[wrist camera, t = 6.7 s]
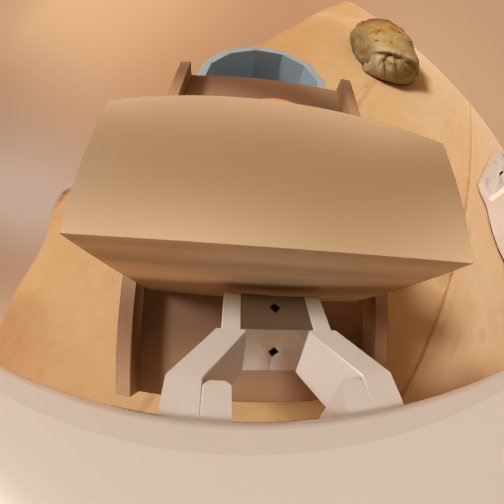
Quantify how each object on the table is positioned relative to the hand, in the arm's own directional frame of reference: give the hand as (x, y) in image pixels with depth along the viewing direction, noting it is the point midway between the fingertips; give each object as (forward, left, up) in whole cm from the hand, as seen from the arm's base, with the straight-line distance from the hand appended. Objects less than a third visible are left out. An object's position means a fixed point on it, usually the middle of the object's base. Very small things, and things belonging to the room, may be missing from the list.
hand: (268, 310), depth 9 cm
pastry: (-42, -8, -12) cm, 45 cm away
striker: (-2, -2, -2) cm, 3 cm away
